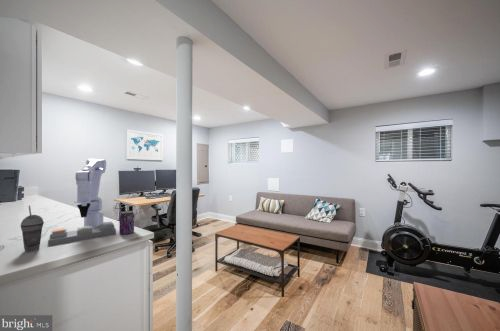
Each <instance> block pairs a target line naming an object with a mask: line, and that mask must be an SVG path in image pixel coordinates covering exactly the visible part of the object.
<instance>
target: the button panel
mask: <svg viewBox="0 0 500 331" xmlns="http://www.w3.org/2000/svg"><path fill="white" fill-rule="evenodd" d="M80 227H81V226H80ZM80 227H77V229H76V230H70V231H68V228H66V229H65V232H62V233H55V234H53V231H50V234H49V237H48V239H47V246H48V247H49V246H53V245H54V246H55V245H60V244H66V243H71V242H77V241H81V240H88V239H89V240H90V239H92V238H94V239H95V238H98V237H99V238H100V237H104V236H106V237H107V236H110V235H116V234H117V229H116V227H115V224H114V222H112V225H108V226H102V224H100V226H98V227H95V228H92V226H89V227H90V228H88V229H82V230H79V228H80ZM86 227H87V226H86Z"/></svg>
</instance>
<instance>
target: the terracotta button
mask: <svg viewBox="0 0 500 331" xmlns="http://www.w3.org/2000/svg"><path fill="white" fill-rule="evenodd" d="M62 232H65V227H62V228H55V229H53V234H55V233H62Z"/></svg>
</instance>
